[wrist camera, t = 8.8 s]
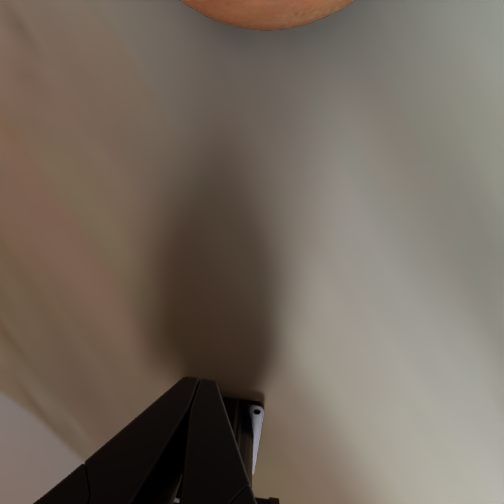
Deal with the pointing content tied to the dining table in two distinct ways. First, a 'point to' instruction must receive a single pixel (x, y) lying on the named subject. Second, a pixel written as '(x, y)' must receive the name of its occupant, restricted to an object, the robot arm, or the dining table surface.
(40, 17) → the dining table surface
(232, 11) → the ceramic jug
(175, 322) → the dining table surface
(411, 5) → the dining table surface
